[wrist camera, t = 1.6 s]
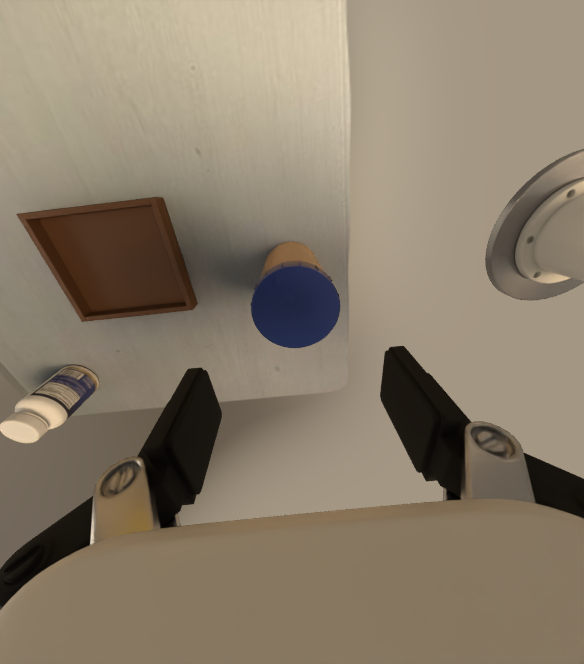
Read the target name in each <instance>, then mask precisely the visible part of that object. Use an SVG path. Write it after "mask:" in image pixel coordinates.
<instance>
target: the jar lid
mask: <svg viewBox="0 0 584 664" xmlns="http://www.w3.org/2000/svg"><path fill="white" fill-rule="evenodd" d="M339 312H340V300H339V294H338V293H337V290H336V288H335V286H334V285H333V283H332V280H331V278H330V276H327V274H326V273H325V272H324V271H323V270H321V269H320V268H318V266H317V265H316V266H315V265H313V264H310V263H307V262H303V261H300V260H299V261H289V262H284V263H283V262H281V264H278V265H276V266H274V267H272V268H271V269H269V270H268V271H266V272H265V274H264V275H263V276H262V277H261V279H260V280H259V282H258V284H256V286H255V291H254V294H253V298H252V302H251V313H252V318H253V321H254V323H255V325H256V327H257V329H258V330H259V331H260V333H261V334H262V335H263V336H264V337H265V338H267V339H268V340H269V341H271V342H273V343H275V344H277V345H280V346H283V347H288V348H301V347H306V346H310V345H312V344H315V343H317V342H319V341H320V340H322V339H323V338H325V337H326V336H327V335H328V334H329V333H330V332H331V330H332V329H333V327H334V326H335V324H336V322H337V320H338V317H339Z"/></svg>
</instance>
